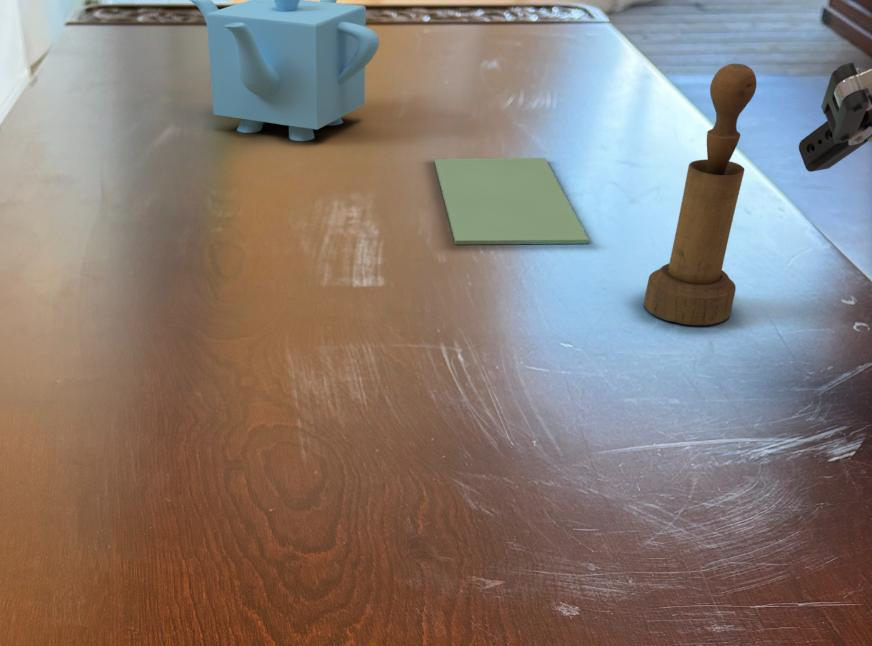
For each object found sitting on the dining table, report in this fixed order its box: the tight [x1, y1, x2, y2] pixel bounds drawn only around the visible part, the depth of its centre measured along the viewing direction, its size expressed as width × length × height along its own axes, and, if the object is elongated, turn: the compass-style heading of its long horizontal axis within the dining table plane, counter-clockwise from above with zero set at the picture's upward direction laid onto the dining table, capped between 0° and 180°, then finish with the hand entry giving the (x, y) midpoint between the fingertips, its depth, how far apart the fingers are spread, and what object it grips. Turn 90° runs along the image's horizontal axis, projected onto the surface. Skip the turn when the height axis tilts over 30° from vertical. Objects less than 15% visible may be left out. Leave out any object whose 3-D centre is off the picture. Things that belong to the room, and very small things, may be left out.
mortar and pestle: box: [643, 63, 757, 326], centre depth 77 cm, size 7×6×18 cm
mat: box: [433, 157, 590, 246], centre depth 103 cm, size 12×24×1 cm, turn 0°
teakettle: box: [189, 0, 380, 142], centre depth 120 cm, size 19×19×15 cm
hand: (810, 157), depth 68 cm, fingers closed
